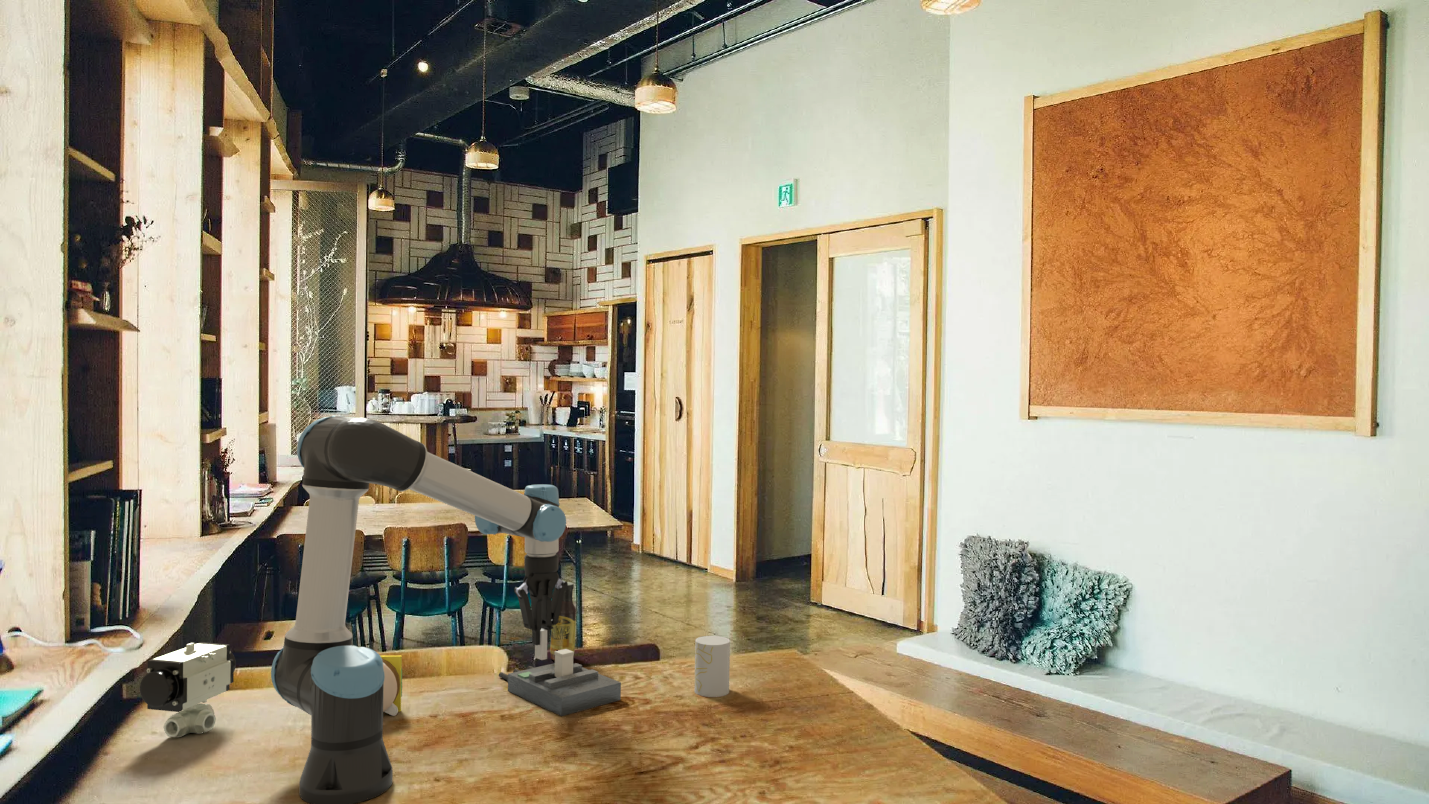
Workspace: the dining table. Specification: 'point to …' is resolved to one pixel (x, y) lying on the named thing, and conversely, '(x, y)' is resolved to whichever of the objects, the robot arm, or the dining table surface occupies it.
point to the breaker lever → (563, 662)
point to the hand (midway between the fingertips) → (540, 658)
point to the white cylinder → (712, 666)
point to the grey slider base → (563, 688)
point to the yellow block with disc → (392, 684)
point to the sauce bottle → (564, 624)
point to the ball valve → (188, 685)
